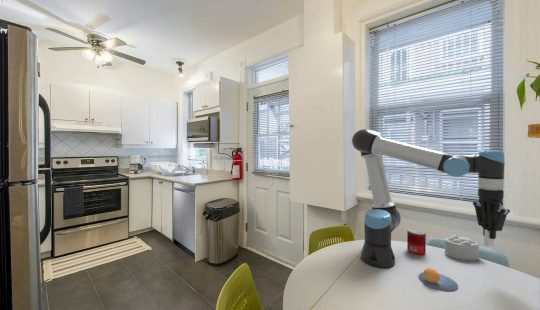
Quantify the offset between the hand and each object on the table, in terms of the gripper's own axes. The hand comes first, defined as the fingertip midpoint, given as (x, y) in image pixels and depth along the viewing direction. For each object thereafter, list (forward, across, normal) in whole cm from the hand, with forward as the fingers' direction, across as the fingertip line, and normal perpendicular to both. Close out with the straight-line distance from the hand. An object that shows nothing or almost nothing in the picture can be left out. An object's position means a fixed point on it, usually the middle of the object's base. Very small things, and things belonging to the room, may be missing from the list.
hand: (489, 245), depth 94 cm
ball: (+11, 0, +25) cm, 27 cm away
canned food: (+14, +25, +13) cm, 32 cm away
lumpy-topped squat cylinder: (+14, +20, -6) cm, 25 cm away
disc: (+14, 0, +22) cm, 26 cm away
